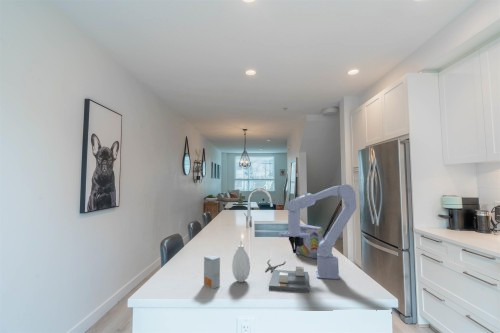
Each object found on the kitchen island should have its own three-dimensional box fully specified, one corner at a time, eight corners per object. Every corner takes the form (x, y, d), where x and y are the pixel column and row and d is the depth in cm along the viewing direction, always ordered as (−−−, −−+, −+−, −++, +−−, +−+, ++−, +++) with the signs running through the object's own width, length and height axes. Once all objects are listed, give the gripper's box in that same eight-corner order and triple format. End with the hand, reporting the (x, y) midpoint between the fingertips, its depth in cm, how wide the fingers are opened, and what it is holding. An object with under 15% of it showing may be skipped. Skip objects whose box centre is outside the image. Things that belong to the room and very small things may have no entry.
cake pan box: (293, 253, 157) (292, 223, 158) (298, 251, 160) (298, 222, 161) (318, 260, 142) (318, 228, 143) (324, 258, 145) (323, 227, 146)
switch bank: (307, 275, 120) (307, 271, 120) (309, 292, 101) (309, 288, 101) (273, 272, 123) (273, 269, 123) (268, 289, 104) (268, 285, 104)
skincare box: (203, 285, 109) (203, 256, 109) (211, 282, 112) (211, 254, 112) (211, 289, 104) (212, 259, 105) (220, 286, 107) (220, 257, 108)
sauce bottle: (234, 285, 108) (234, 242, 109) (230, 279, 115) (230, 238, 116) (252, 283, 110) (252, 241, 111) (247, 277, 118) (247, 237, 119)
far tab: (303, 273, 117) (303, 266, 117) (303, 276, 114) (303, 269, 114) (295, 273, 118) (295, 266, 118) (295, 275, 115) (295, 268, 115)
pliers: (285, 259, 142) (285, 272, 122) (285, 261, 142) (285, 274, 122) (267, 259, 143) (264, 271, 124) (267, 260, 143) (264, 273, 123)
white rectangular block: (288, 280, 109) (288, 272, 110) (287, 282, 106) (287, 275, 107) (279, 279, 110) (279, 272, 110) (279, 282, 107) (279, 274, 107)
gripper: (278, 225, 122) (278, 254, 122) (309, 226, 120) (310, 255, 119) (279, 222, 129) (279, 250, 129) (309, 223, 127) (309, 251, 126)
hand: (294, 252), depth 124 cm, fingers closed
